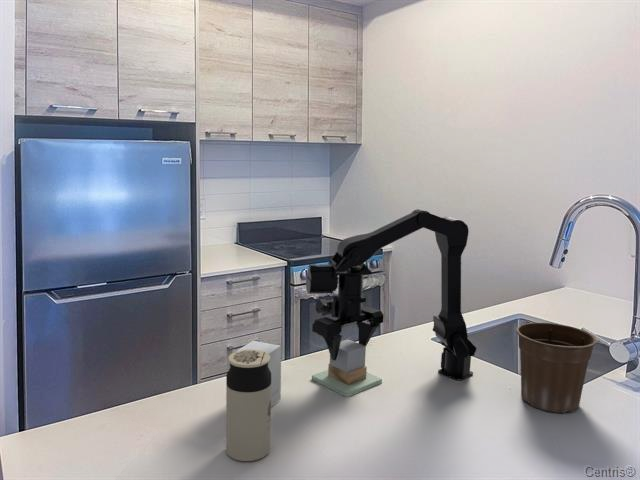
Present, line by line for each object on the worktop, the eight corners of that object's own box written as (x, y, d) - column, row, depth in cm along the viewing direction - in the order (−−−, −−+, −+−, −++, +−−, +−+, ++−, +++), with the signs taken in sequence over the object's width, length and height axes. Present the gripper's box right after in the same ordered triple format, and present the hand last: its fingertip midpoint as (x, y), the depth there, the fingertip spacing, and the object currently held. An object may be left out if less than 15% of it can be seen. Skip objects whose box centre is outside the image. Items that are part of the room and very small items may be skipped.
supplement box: (281, 399, 114) (282, 345, 112) (264, 414, 108) (265, 356, 106) (253, 392, 117) (253, 339, 115) (234, 406, 111) (234, 350, 109)
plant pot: (509, 409, 113) (515, 339, 110) (511, 380, 128) (517, 318, 125) (592, 425, 107) (601, 351, 104) (584, 393, 122) (592, 328, 119)
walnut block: (366, 378, 124) (366, 366, 123) (348, 385, 120) (348, 373, 119) (345, 369, 129) (346, 357, 129) (328, 375, 125) (328, 363, 125)
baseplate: (381, 382, 124) (382, 378, 124) (346, 397, 116) (346, 392, 116) (346, 366, 133) (347, 363, 133) (311, 379, 125) (311, 375, 125)
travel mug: (219, 460, 91) (219, 363, 88) (234, 436, 99) (235, 346, 96) (263, 465, 90) (264, 367, 87) (275, 441, 97) (276, 350, 95)
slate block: (364, 366, 124) (365, 346, 123) (347, 372, 120) (347, 352, 119) (347, 358, 128) (348, 339, 127) (329, 364, 124) (330, 344, 123)
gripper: (353, 280, 133) (351, 338, 136) (297, 291, 121) (296, 354, 123) (386, 289, 125) (383, 350, 127) (329, 302, 113) (327, 369, 115)
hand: (347, 355), depth 124 cm, fingers open, 9 cm apart
